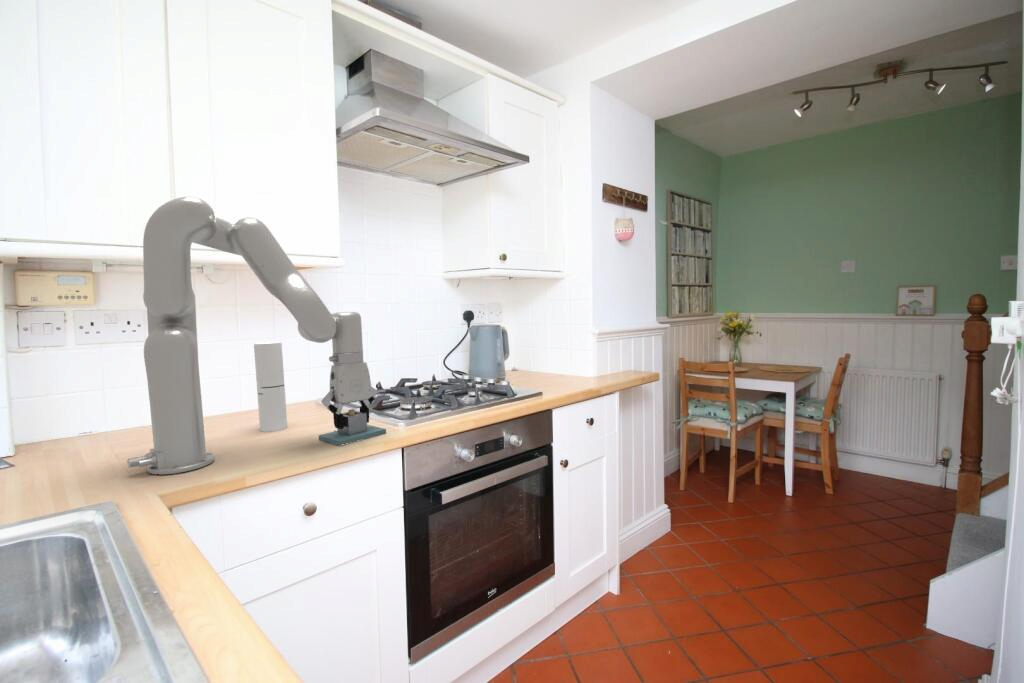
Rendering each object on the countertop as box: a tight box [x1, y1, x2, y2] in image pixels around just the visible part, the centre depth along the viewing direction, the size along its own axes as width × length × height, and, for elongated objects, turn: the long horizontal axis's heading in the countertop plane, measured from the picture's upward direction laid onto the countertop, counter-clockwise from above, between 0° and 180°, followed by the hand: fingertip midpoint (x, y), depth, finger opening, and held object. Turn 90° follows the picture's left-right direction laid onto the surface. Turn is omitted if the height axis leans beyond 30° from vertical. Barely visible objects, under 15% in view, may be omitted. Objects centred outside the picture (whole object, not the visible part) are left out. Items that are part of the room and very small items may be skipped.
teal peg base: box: [318, 408, 387, 446], centre depth 130 cm, size 14×10×7 cm
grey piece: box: [253, 341, 288, 433], centre depth 140 cm, size 7×7×25 cm
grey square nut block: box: [336, 410, 368, 436], centre depth 130 cm, size 6×6×5 cm
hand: (352, 424), depth 130 cm, fingers open, 7 cm apart
